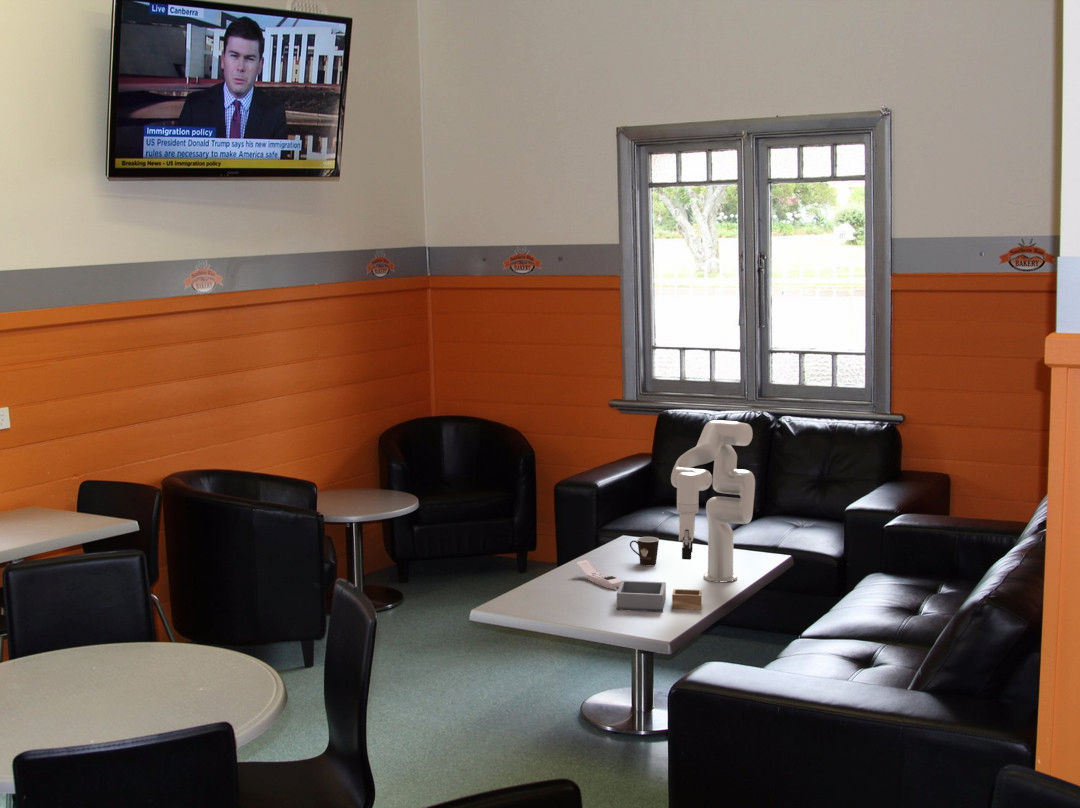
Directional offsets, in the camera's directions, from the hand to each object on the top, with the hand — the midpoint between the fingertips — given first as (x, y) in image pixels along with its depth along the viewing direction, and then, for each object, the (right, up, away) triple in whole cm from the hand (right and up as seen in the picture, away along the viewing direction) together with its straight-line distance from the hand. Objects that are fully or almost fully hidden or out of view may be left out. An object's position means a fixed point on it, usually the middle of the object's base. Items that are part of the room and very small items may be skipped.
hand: (687, 555), depth 401 cm
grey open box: (-16, -18, +5) cm, 24 cm away
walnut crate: (0, -18, +2) cm, 18 cm away
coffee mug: (-9, -11, +59) cm, 61 cm away
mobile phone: (-29, -15, +33) cm, 46 cm away
